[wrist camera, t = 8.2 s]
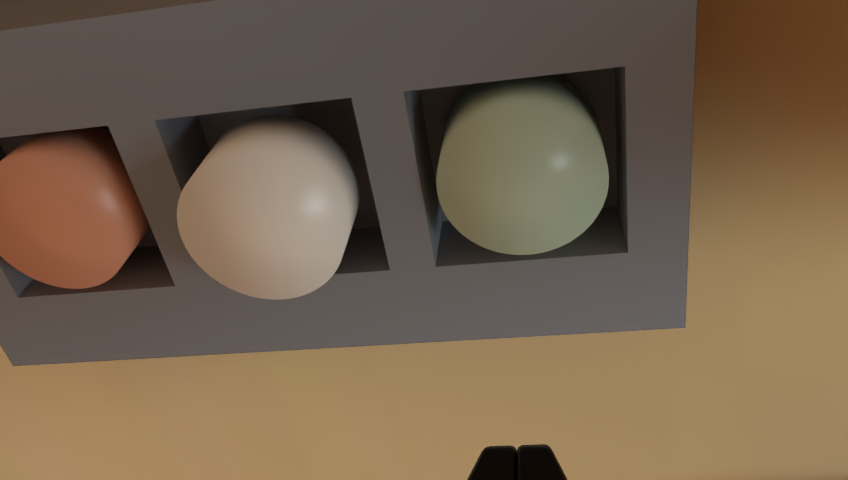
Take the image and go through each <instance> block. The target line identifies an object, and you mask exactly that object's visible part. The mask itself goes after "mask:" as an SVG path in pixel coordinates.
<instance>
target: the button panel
mask: <svg viewBox="0 0 848 480" xmlns="http://www.w3.org/2000/svg"><path fill="white" fill-rule="evenodd" d="M696 21H697V0H4V1H0V161H1V160H2V159H3V158H5V157H6V156H7V155H8V154H10V153H11V152H12V151H13V150H14V149H16V148H17V147H18V146H19V145H20V144H22V143H23V142H24V141H25V140H27V139H28V138H29V137H30V136H31V135H33V134H39V133H47V132H56V131H65V130H73V129H82V128H91V127H100V128H103V129H105V130H107V131H109V132H111V134H112V137H113V139H114V141H115V144H116V146H117V149H118V151H119V153H120V156H121V158H122V160H123V163H124V165H125V168H126V170H127V172H128V175H129V177H130V180H131V182H132V184H133V187H134V189H135V191H136V194H137V196H138V199H139V201H140V203H141V206H142V208H143V211H144V213H145V215H146V218H147V220H148V222H149V225H150V227H151V228H150V229H149V230H148V232H147V233H146V234H145V236H144V237H143V238H142V240H141V241H140V242H139V244H138V245H137V247H136V248H135V249H134V251H133V252H132V253H131V255H130V256H129V257H128V259H127V260H126V261H125V263H124V264H123V265H122V267H121V268H120V269H119V271H118V272H117V273H116V274H115V275H114V276H113V277H112V278H111V279H109V280H108V281H106V282H105V283H102V284H100V285H98V286H94V287H90V288H83V289H69V288H61V287H56V286H52V285H49V284H45V283H43V282H40V281H38V280H35V279H33V278H31V277H29V276H27V275H25V274H24V273H22V272H20V271H19V270H17V269H16V268H14V267H13V266H12V265H10V264H9V263H8V262H7V261H6V260H4V259H3V258H2V257H1V256H0V345H1V347H2V348H3V350H4V352H5V353H6V355H7V357H8V358H9V360H10V361H11V363H12V365H13V366H22V365H40V364H57V363H75V362H92V361H110V360H127V359H145V358H162V357H180V356H197V355H215V354H233V353H250V352H268V351H285V350H303V349H320V348H338V347H355V346H373V345H390V344H408V343H425V342H443V341H460V340H478V339H496V338H513V337H531V336H548V335H566V334H583V333H601V332H618V331H636V330H653V329H671V328H685V323H686V295H687V268H688V240H689V213H690V186H691V158H692V131H693V103H694V76H695V48H696ZM554 74H555V75H558V76H560V77H562V78H564V79H565V80H567V81H568V82H570V83H571V84H573V85H574V86H575V87H576V88H577V89H579V90H580V91H581V92H582V93H583V95H584V96H585V97H586V98H587V100H588V101H589V103H590V104H591V106H592V108H593V110H594V112H595V115H596V117H597V121H598V125H599V129H600V134H601V138H602V143H603V147H604V152H605V156H606V161H607V165H608V172H609V187H608V192H607V197H606V199H605V202H604V205H603V207H602V209H601V211H600V213H599V215H598V216H597V218H596V219H595V220H594V222H593V223H592V224H591V225H590V226H589V227H588V228H587V229H586V230H585V231H584V232H583V233H582V234H581V235H579V236H578V237H577V238H575V239H574V240H572V241H571V242H569V243H567V244H565V245H563V246H561V247H559V248H556V249H553V250H551V251H547V252H543V253H539V254H531V255H512V254H504V253H499V252H495V251H492V250H489V249H486V248H484V247H481V246H479V245H477V244H475V243H474V242H472V241H470V240H469V239H467V238H466V237H465V236H463V235H462V234H461V233H460V232H459V231H458V230H457V229H456V228H455V227H454V226H453V225H452V224H451V222H450V221H449V220H448V218H447V216H446V215H445V213H444V211H443V209H442V207H441V204H440V202H439V198H438V194H437V186H436V177H437V168H438V163H439V157H440V151H441V145H442V140H443V134H444V129H445V124H446V121H447V118H448V115H449V113H450V111H451V109H452V107H453V105H454V104H455V102H456V101H457V100H458V98H459V97H460V96H461V95H462V94H463V93H464V92H465V91H466V90H467V89H468V88H469V87H470V86H472V85H473V84H475V83H484V82H493V81H502V80H510V79H519V78H528V77H537V76H545V75H554ZM272 114H275V115H286V116H291V117H295V118H299V119H302V120H305V121H307V122H309V123H311V124H314V125H316V126H317V127H319V128H321V129H322V130H324V131H325V132H327V133H328V134H329V135H331V136H332V137H333V138H334V139H335V140H336V141H337V142H338V143H339V144H340V145H341V146H342V147H343V148H344V150H345V151H346V152H347V153H348V155H349V157H350V158H351V160H352V162H353V164H354V166H355V168H356V170H357V174H358V177H359V182H360V190H361V197H360V204H359V208H358V211H357V214H356V217H355V220H354V223H353V226H352V229H351V233H350V236H349V239H348V242H347V245H346V248H345V251H344V254H343V257H342V260H341V263H340V265H339V267H338V269H337V270H336V272H335V273H334V274H333V276H332V277H331V278H330V279H329V280H328V281H327V282H326V283H325V284H324V285H322V286H321V287H320V288H318V289H316V290H314V291H313V292H311V293H308V294H306V295H303V296H300V297H296V298H290V299H282V300H271V299H261V298H256V297H251V296H248V295H245V294H241V293H239V292H236V291H234V290H232V289H230V288H228V287H226V286H224V285H222V284H221V283H219V282H218V281H216V280H215V279H213V278H212V277H211V276H209V275H208V274H207V273H206V272H205V271H204V270H203V269H202V268H201V267H200V266H199V265H198V264H197V263H196V262H195V261H194V259H193V258H192V257H191V256H190V254H189V252H188V251H187V249H186V247H185V245H184V243H183V241H182V239H181V236H180V233H179V230H178V224H177V206H178V201H179V198H180V194H181V192H182V190H183V188H184V186H185V185H186V183H187V182H188V181H189V179H190V178H191V177H192V175H193V174H194V172H195V171H196V170H197V168H198V167H199V166H200V164H201V163H202V162H203V160H204V159H205V157H206V156H207V155H208V153H209V152H210V151H211V149H212V148H213V147H214V145H215V144H216V142H217V141H218V140H219V138H220V137H221V136H222V135H223V134H224V133H225V132H226V131H227V130H228V129H229V128H231V127H232V126H233V125H235V124H237V123H239V122H241V121H243V120H245V119H248V118H251V117H255V116H260V115H272Z"/></svg>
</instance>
